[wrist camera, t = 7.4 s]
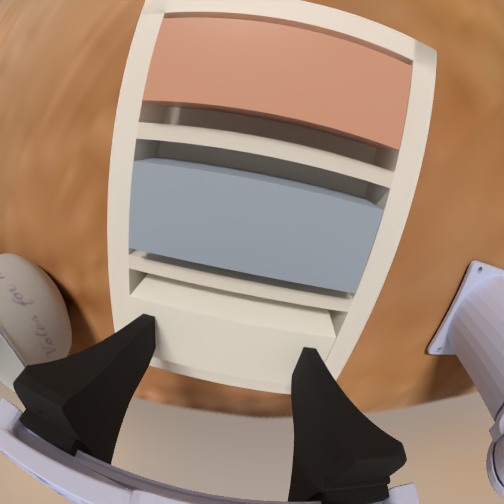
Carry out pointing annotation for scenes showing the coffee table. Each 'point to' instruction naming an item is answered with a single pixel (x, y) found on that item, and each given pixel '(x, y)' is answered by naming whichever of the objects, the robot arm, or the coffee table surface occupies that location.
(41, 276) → the teacup
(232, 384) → the cream drawer frame
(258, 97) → the terracotta key
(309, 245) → the slate key
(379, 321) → the coffee table surface
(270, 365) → the ivory key
